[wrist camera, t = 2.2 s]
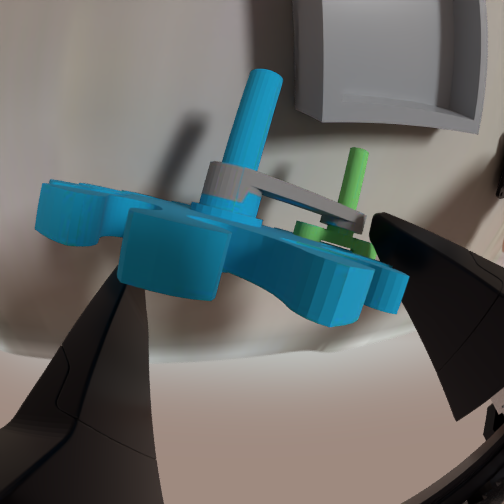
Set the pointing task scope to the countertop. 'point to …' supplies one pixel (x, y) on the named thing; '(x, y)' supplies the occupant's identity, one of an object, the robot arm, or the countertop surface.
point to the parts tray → (392, 61)
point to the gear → (236, 229)
